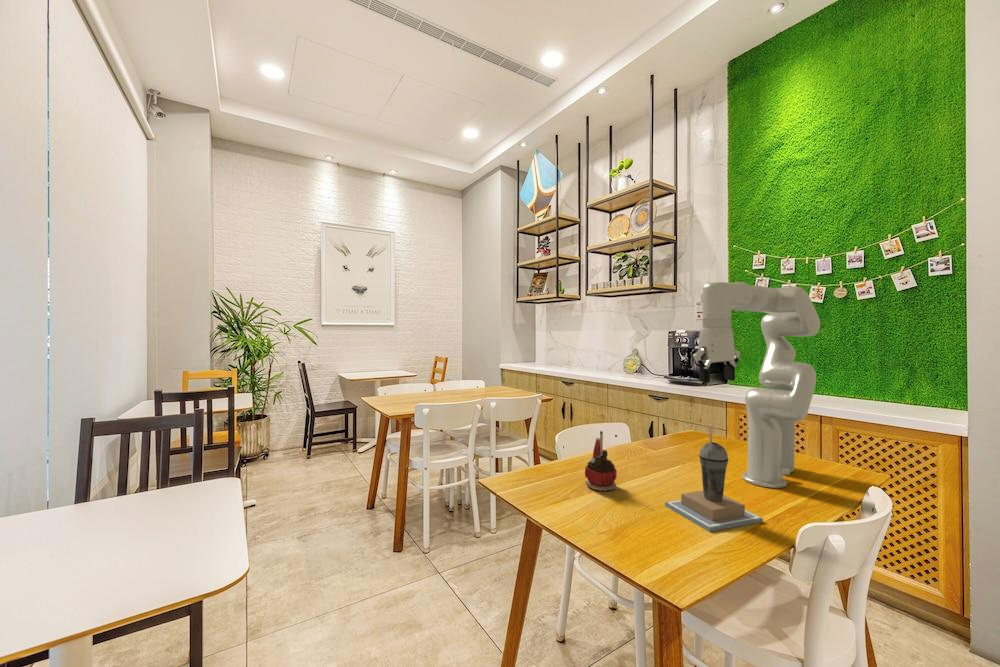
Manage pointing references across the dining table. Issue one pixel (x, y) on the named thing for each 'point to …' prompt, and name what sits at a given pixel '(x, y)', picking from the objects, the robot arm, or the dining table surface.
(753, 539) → the dining table surface
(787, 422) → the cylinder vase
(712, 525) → the brown block on tray
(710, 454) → the beverage cup
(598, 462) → the cake
